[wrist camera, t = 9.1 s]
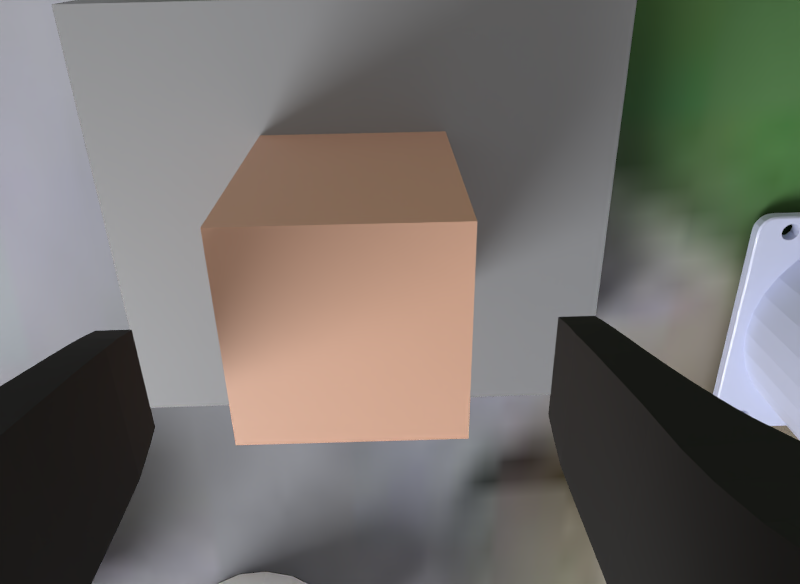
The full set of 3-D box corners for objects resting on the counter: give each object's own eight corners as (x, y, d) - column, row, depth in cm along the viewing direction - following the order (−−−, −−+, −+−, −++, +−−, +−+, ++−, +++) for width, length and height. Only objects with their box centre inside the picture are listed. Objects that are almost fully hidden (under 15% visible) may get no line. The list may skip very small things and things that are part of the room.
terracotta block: (445, 131, 16) (477, 221, 11) (443, 295, 18) (468, 438, 13) (259, 135, 16) (200, 227, 11) (278, 299, 18) (236, 445, 13)
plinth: (599, -17, 18) (638, -10, 15) (561, 340, 23) (585, 393, 20) (102, -4, 17) (51, 4, 15) (176, 353, 22) (148, 407, 20)
